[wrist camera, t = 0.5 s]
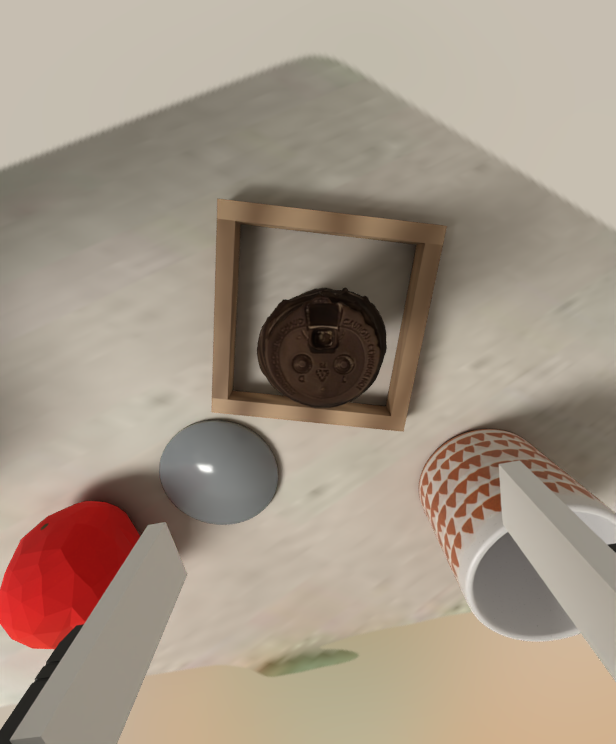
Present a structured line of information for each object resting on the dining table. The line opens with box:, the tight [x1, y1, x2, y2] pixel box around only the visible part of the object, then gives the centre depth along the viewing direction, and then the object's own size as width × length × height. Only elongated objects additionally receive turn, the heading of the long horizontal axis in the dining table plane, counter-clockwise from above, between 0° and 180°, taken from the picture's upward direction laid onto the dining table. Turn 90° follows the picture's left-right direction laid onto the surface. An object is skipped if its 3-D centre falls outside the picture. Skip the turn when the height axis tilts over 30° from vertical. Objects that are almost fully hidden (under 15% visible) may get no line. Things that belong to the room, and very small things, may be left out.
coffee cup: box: [257, 288, 387, 408], centre depth 27 cm, size 9×8×13 cm
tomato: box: [0, 501, 140, 649], centre depth 36 cm, size 13×13×13 cm
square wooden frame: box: [212, 199, 447, 431], centre depth 32 cm, size 19×19×2 cm
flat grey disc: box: [159, 420, 278, 525], centre depth 38 cm, size 13×13×1 cm
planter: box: [419, 429, 616, 641], centre depth 33 cm, size 14×14×13 cm
